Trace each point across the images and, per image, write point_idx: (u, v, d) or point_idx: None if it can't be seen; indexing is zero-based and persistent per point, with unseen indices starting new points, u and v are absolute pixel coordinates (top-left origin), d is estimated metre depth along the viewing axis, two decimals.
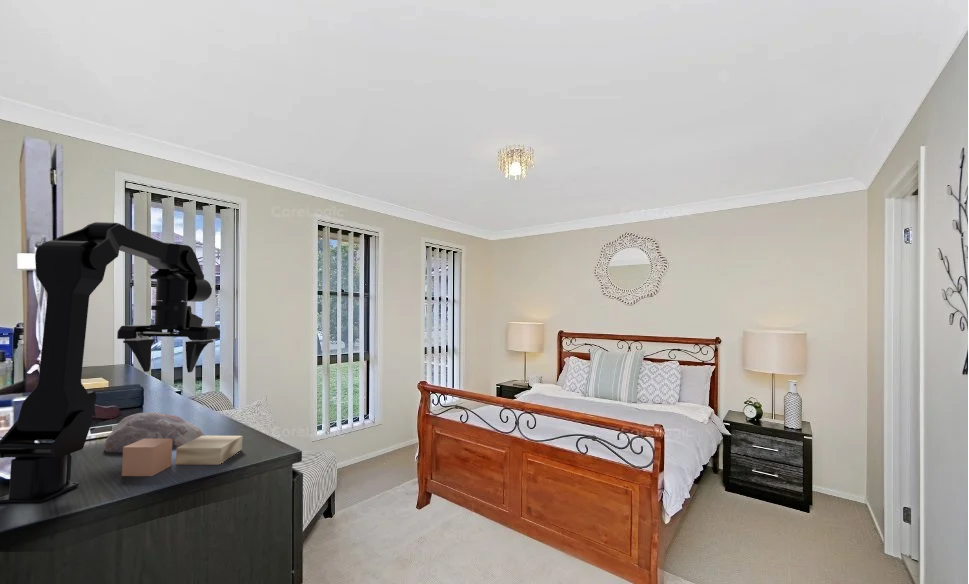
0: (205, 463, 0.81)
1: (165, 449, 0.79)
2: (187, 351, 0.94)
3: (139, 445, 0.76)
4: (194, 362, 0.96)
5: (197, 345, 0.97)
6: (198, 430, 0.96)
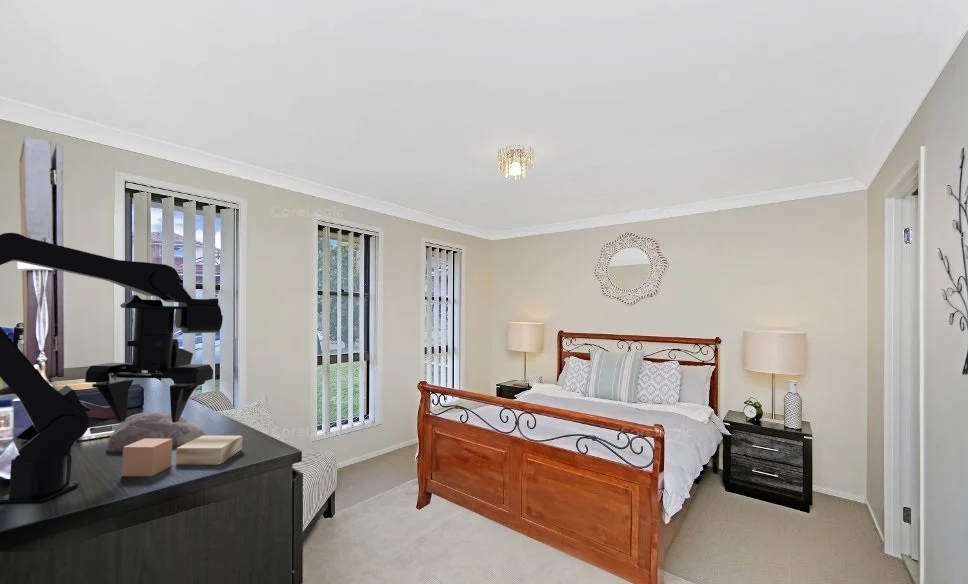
0: (205, 463, 0.81)
1: (165, 449, 0.79)
2: (172, 397, 0.76)
3: (139, 445, 0.76)
4: (181, 409, 0.78)
5: (185, 388, 0.79)
6: (200, 430, 0.96)
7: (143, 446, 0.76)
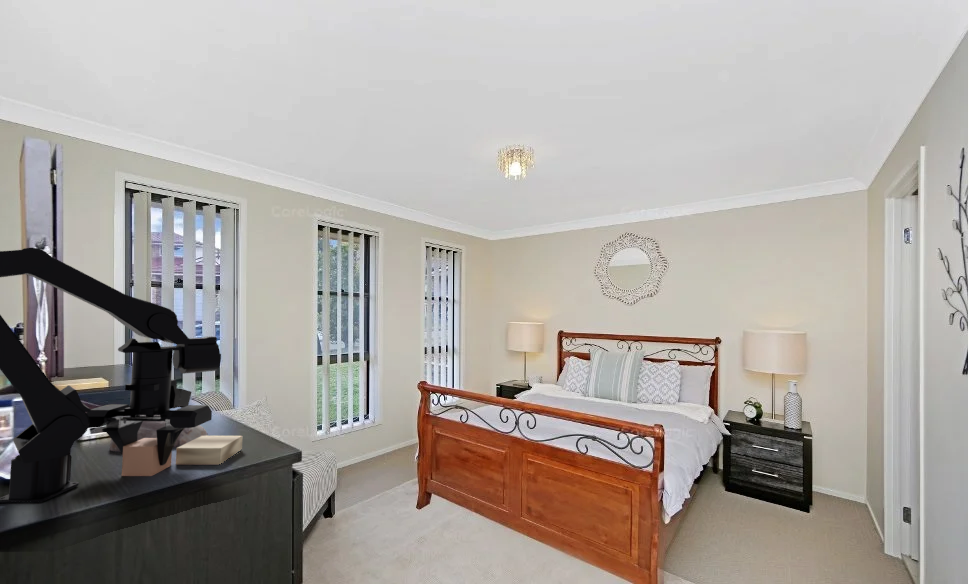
0: (205, 463, 0.81)
1: None
2: (159, 441, 0.76)
3: (139, 444, 0.76)
4: (168, 452, 0.78)
5: None
6: (202, 429, 0.96)
7: (143, 445, 0.76)
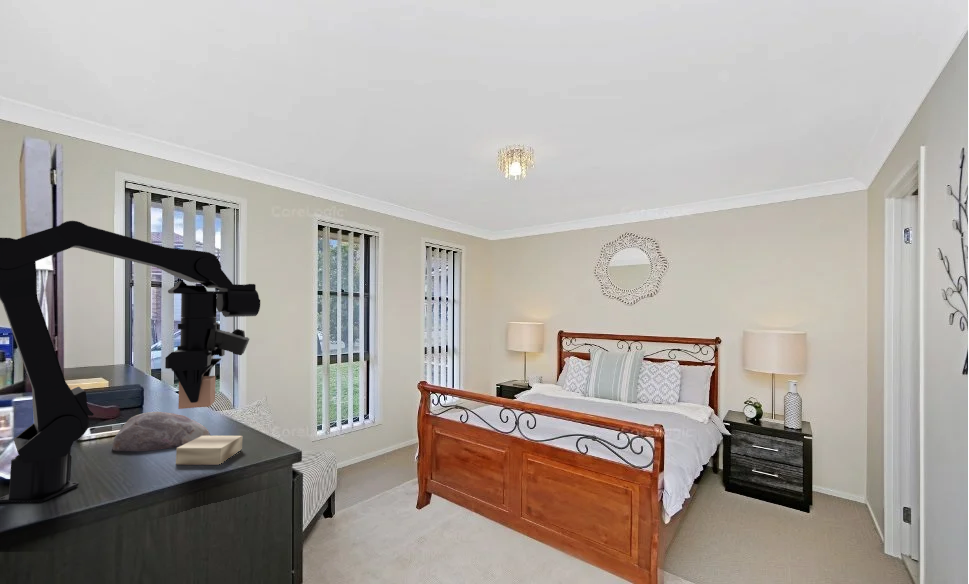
0: (205, 463, 0.81)
1: None
2: None
3: None
4: (194, 391, 0.80)
5: (194, 371, 0.80)
6: (204, 429, 0.97)
7: None
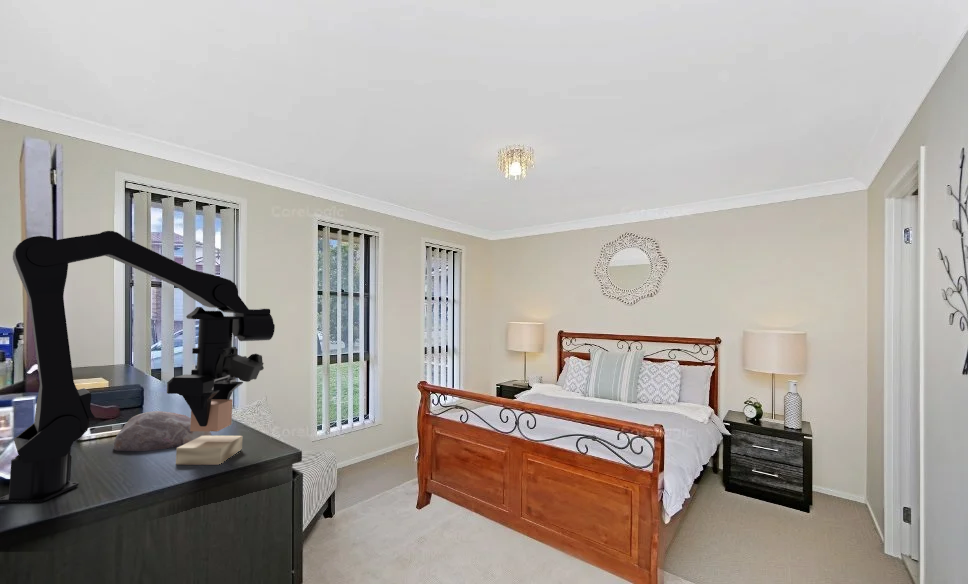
0: (205, 463, 0.81)
1: None
2: None
3: None
4: (201, 415, 0.82)
5: (202, 396, 0.82)
6: None
7: None
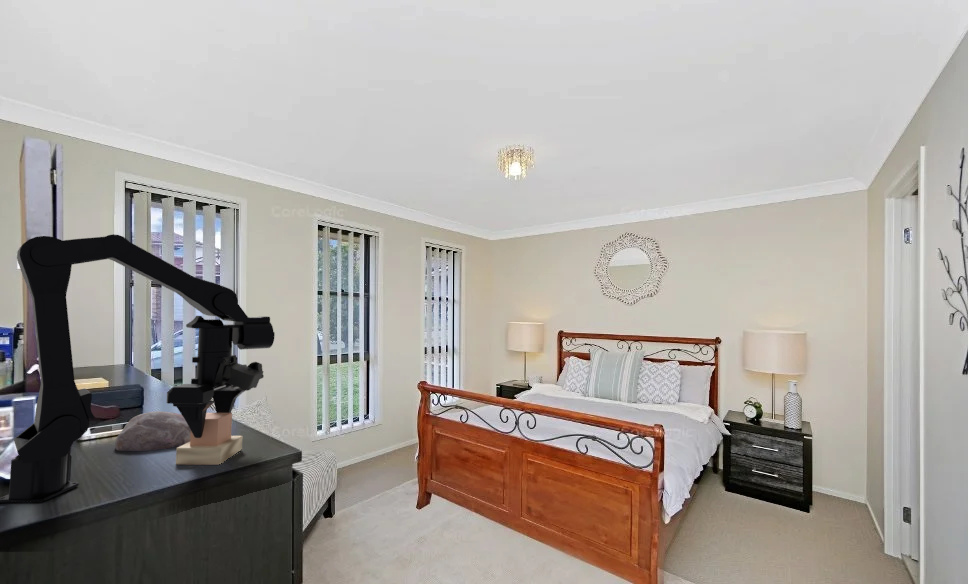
0: (205, 463, 0.81)
1: (208, 426, 0.83)
2: None
3: None
4: (196, 427, 0.80)
5: (197, 407, 0.80)
6: None
7: None
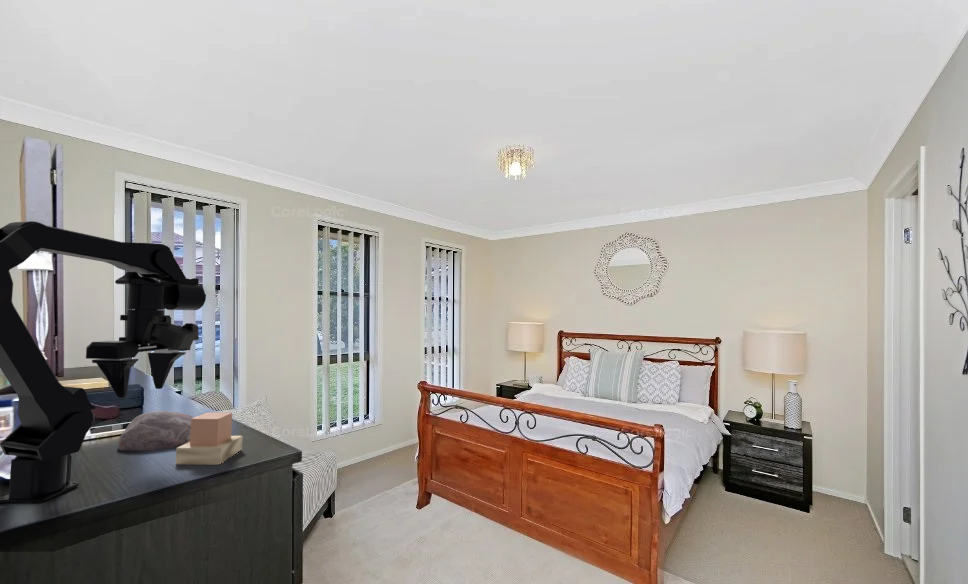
0: (205, 463, 0.81)
1: (208, 426, 0.83)
2: None
3: (205, 415, 0.86)
4: (119, 386, 0.77)
5: (119, 365, 0.76)
6: None
7: (199, 416, 0.85)
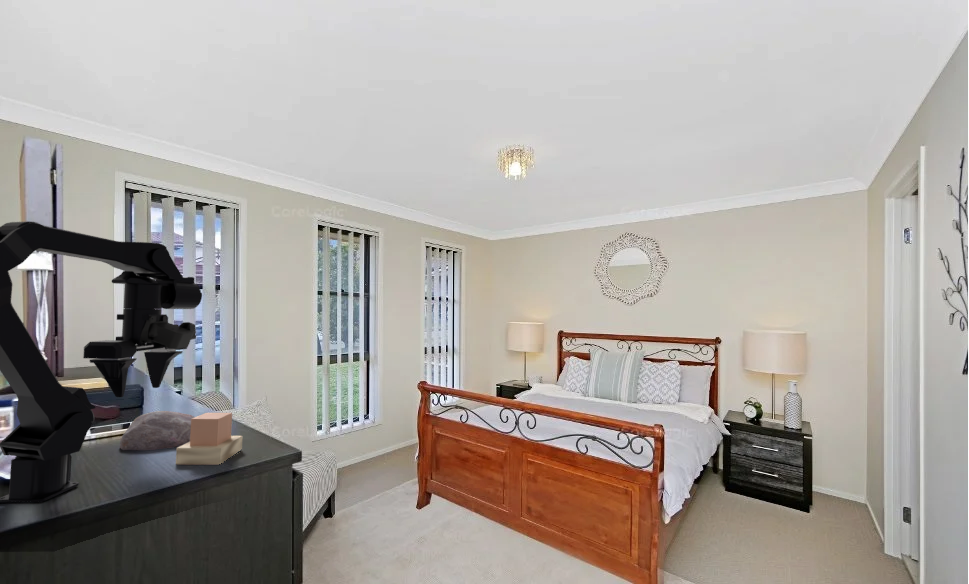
0: (205, 463, 0.81)
1: (208, 426, 0.83)
2: None
3: (205, 415, 0.86)
4: (117, 385, 0.77)
5: (117, 364, 0.76)
6: None
7: (199, 416, 0.85)
